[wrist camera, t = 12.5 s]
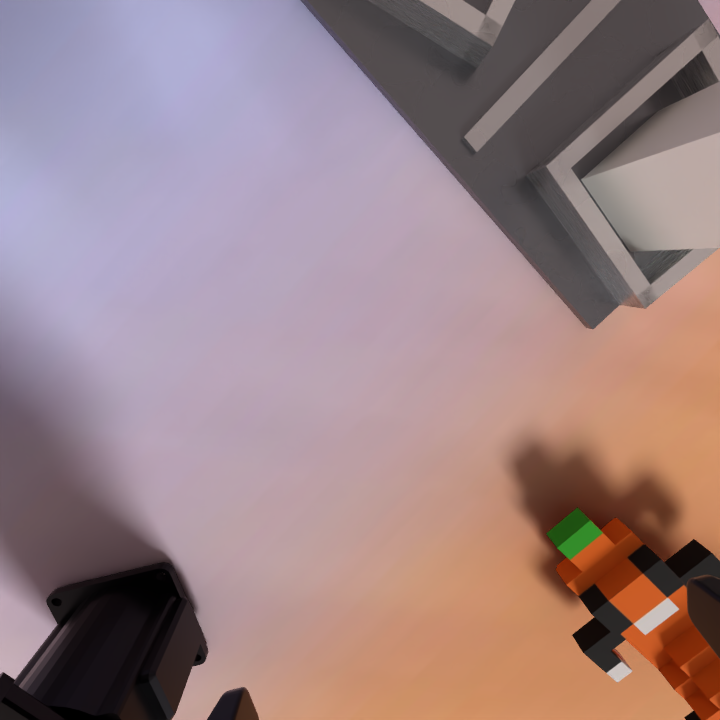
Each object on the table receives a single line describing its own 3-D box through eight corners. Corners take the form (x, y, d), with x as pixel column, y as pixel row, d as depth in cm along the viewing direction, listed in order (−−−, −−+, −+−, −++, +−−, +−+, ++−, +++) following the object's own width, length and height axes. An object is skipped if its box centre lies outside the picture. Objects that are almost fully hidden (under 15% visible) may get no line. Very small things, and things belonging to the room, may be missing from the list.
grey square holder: (611, 303, 19) (645, 308, 17) (520, 177, 17) (546, 166, 15) (744, 192, 18) (796, 183, 16) (662, 49, 16) (708, 18, 14)
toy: (732, 809, 19) (540, 647, 16) (639, 681, 25) (486, 544, 22) (876, 713, 18) (701, 519, 15) (744, 602, 24) (599, 447, 21)
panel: (269, -37, 15) (265, -53, 14) (484, -308, 13) (494, -344, 13) (586, 327, 19) (597, 330, 18) (777, 150, 17) (797, 145, 17)
